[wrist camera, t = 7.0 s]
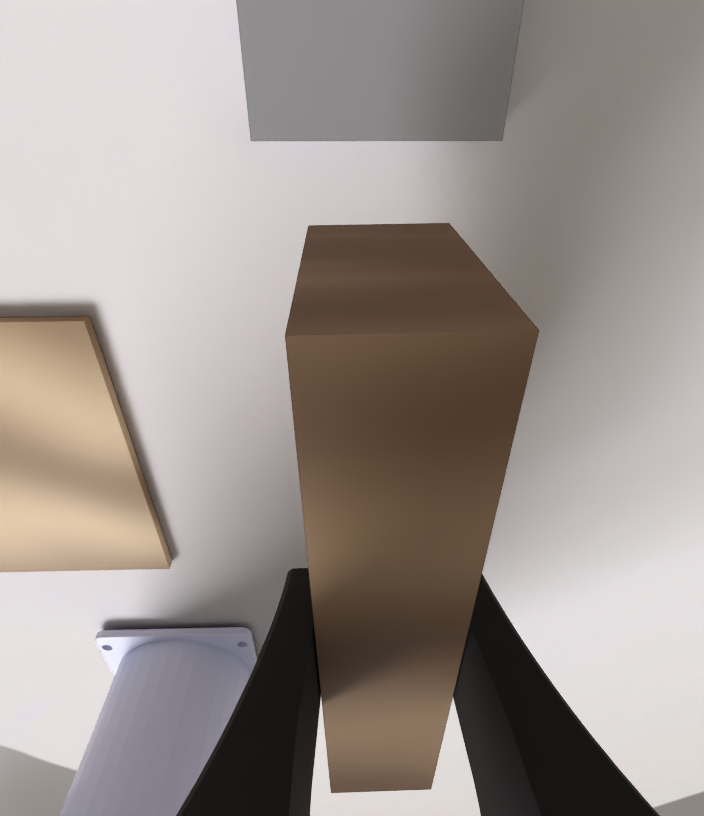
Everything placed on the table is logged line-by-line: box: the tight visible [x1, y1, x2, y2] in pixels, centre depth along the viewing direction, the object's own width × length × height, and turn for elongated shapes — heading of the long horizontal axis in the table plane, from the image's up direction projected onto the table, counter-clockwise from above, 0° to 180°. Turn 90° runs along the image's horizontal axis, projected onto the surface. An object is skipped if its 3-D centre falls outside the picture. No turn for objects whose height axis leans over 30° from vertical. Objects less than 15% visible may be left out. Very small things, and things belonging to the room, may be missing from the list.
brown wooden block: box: [285, 223, 539, 793], centre depth 11 cm, size 14×3×5 cm, turn 1°
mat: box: [0, 316, 172, 572], centre depth 18 cm, size 12×8×1 cm, turn 1°
